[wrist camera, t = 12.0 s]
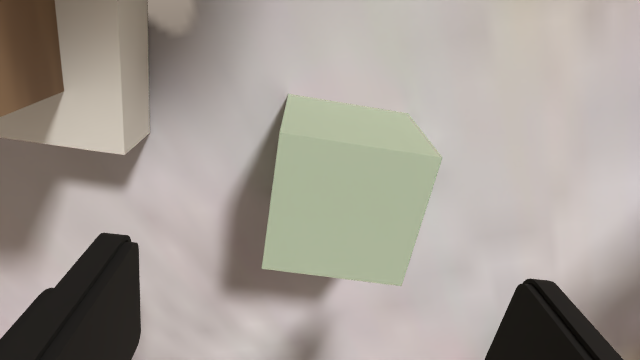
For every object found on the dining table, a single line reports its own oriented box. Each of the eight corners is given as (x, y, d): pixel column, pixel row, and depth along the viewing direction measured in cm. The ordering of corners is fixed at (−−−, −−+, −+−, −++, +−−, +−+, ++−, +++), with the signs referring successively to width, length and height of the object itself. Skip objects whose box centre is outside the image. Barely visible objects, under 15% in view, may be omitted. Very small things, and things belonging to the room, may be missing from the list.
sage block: (407, 112, 17) (442, 157, 12) (379, 215, 19) (401, 286, 14) (288, 93, 16) (279, 132, 12) (274, 200, 18) (261, 268, 14)
